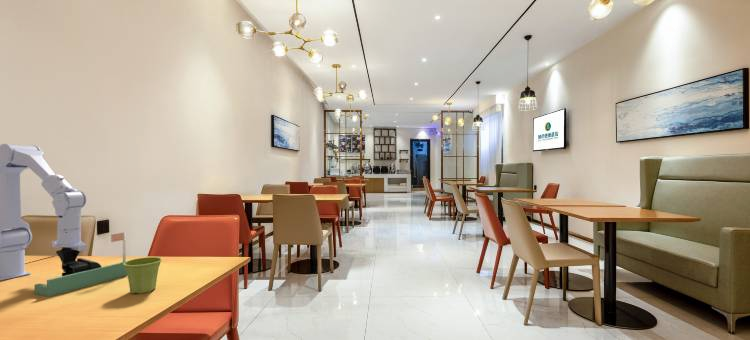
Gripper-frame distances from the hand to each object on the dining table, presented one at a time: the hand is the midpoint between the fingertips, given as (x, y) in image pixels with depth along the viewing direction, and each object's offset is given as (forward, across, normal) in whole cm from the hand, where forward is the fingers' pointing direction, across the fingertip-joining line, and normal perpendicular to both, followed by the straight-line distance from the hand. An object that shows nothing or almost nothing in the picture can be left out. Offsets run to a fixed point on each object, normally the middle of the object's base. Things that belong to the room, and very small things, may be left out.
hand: (68, 271), depth 113 cm
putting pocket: (+3, +9, 0) cm, 9 cm away
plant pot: (+2, +32, +2) cm, 32 cm away
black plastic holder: (+3, +6, 0) cm, 7 cm away
